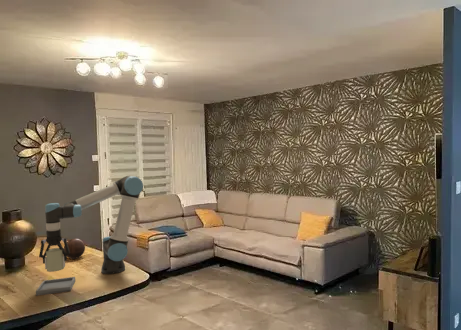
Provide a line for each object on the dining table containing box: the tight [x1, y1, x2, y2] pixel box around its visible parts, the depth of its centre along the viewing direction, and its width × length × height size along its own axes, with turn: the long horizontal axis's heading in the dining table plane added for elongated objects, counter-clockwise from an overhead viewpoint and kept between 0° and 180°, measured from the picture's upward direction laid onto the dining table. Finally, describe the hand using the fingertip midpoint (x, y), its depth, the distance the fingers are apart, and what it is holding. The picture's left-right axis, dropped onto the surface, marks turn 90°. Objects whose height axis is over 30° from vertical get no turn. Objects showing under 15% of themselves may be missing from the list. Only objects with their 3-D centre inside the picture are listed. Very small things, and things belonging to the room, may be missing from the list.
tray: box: [35, 276, 76, 297], centre depth 212 cm, size 18×18×2 cm
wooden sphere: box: [63, 238, 86, 260], centre depth 273 cm, size 15×15×15 cm
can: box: [45, 247, 65, 273], centre depth 211 cm, size 9×9×12 cm
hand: (55, 267), depth 211 cm, fingers closed on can, 9 cm apart
